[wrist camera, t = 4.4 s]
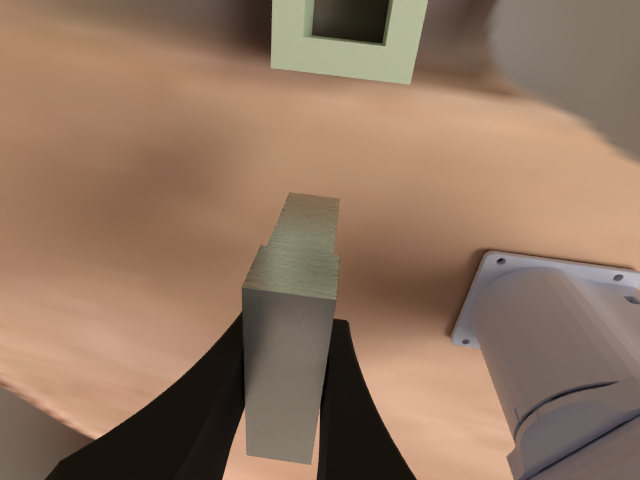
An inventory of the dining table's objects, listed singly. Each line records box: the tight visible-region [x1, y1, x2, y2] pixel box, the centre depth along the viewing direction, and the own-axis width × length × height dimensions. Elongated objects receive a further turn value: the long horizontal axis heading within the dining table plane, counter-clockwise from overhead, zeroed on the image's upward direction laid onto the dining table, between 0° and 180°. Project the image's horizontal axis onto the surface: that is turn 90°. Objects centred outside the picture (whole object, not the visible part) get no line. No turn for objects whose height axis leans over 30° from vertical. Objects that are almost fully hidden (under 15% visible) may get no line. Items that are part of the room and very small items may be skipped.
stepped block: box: [242, 192, 340, 465], centre depth 14 cm, size 2×8×6 cm, turn 175°
